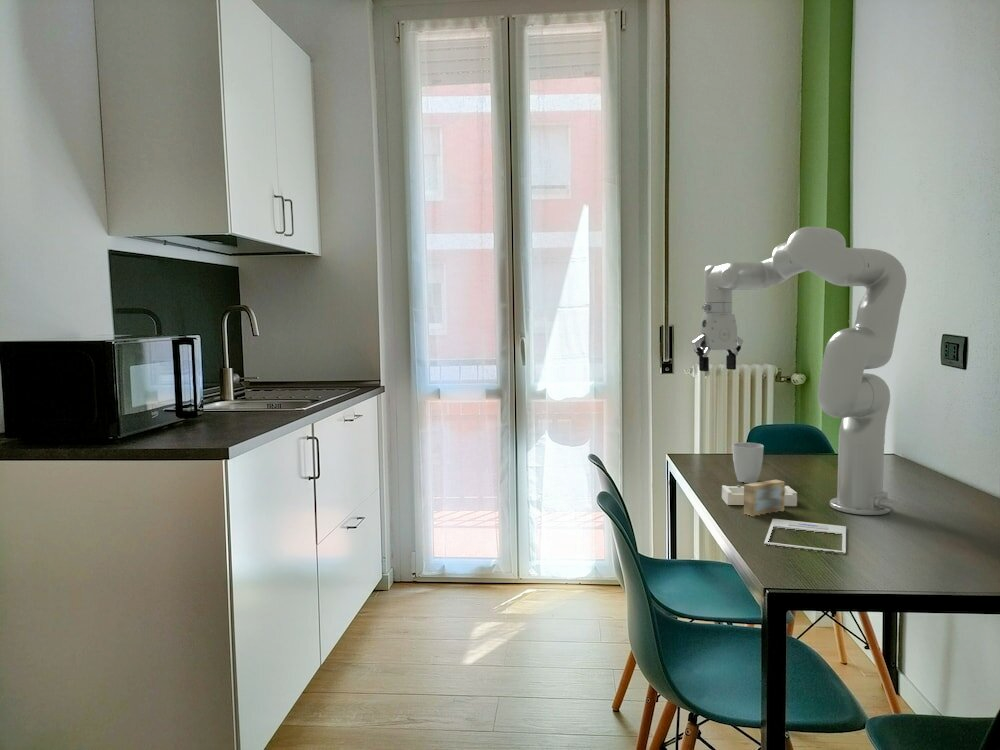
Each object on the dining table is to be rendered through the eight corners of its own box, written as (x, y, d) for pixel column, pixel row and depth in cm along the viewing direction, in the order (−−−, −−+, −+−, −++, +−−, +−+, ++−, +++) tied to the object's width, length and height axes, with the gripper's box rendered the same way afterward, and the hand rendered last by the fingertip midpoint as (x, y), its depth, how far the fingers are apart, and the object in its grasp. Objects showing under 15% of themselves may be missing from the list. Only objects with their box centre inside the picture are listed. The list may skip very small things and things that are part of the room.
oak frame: (776, 508, 167) (776, 479, 167) (784, 511, 165) (785, 481, 164) (743, 514, 163) (744, 484, 163) (751, 517, 161) (752, 486, 160)
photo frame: (846, 525, 151) (845, 551, 135) (845, 530, 151) (845, 557, 135) (772, 517, 157) (764, 541, 141) (772, 522, 157) (764, 547, 141)
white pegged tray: (788, 498, 176) (788, 485, 175) (796, 506, 169) (797, 492, 168) (721, 498, 177) (721, 484, 177) (727, 505, 170) (727, 491, 170)
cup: (758, 477, 198) (759, 442, 197) (766, 484, 190) (767, 447, 189) (729, 477, 199) (729, 442, 198) (735, 484, 191) (736, 447, 190)
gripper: (702, 309, 192) (702, 372, 193) (751, 308, 199) (751, 369, 200) (684, 310, 199) (684, 370, 200) (732, 309, 205) (732, 368, 207)
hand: (717, 370), depth 200 cm, fingers open, 9 cm apart
